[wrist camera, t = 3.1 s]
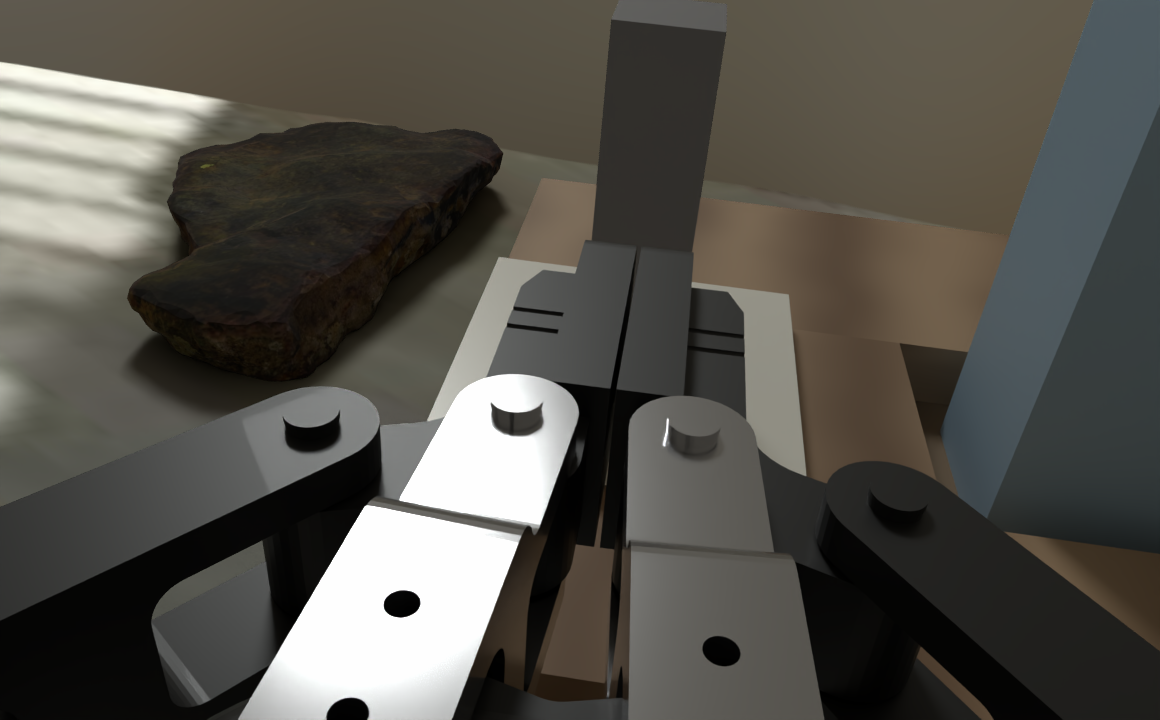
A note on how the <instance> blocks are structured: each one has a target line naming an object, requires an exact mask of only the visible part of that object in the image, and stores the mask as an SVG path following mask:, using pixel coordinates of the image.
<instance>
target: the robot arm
mask: <svg viewBox="0 0 1160 720" xmlns="http://www.w3.org/2000/svg"><path fill="white" fill-rule="evenodd" d="M636 258H637V246H635V245H626V244H618V243H609V242H601V241H592V240H585V242H584V245H583V248H582V252H581V255H580V259H579V262H578V265H577V269H576V272H575V274H574V273H566V272H558V271H550V270H542V271H541V272H539V273H538V274H537V275H535V276H534V277H533V278H531V279H530V280H529V281H527V282H526V283H524V284H523V285H522V286H521V288H520V290H519V293H518V296H517V298H516V301H515V303H514V306H513V310H512V311H511V314H510V316H509V319H508V322H507V327H505V329H504V332H503V335H502V337H501V340H500V342H499V345H498V348H497V350H496V353H495V355H494V358H493V361H492V363H491V366H490V368H489V371H488V374H487V376H486V378H485V379H481V380H479V381H477V382H475V383H473V384H471V385H469V386H468V387H466V388H465V389H464V390H463V391H462V392H460V394H459V395H458V396H457V398H456V399H455V401H454V403H453V405H452V406H451V408H450V410H449V412H448V414H447V415H446V417H443V418H440V419H436V420H431V421H427V422H419V423H408V424H395V425H382V426H380V419H379V414H378V411H377V409H376V408H375V406H374V405H373V404H372V403H371V402H370V401H369V400H368V399H366V398H365V397H363V396H362V395H360V394H358V393H355V392H353V391H350V390H346V389H342V388H336V387H325V386H318V387H306V388H299V389H295V390H290V391H287V392H284V393H281V394H278V395H276V396H273V397H271V398H268V399H266V400H263V401H261V402H258V403H256V404H253V405H251V406H249V407H246V408H244V409H241V410H239V411H236V412H234V413H231V414H229V415H226V416H224V417H221V418H219V419H216V420H214V421H211V422H209V423H207V424H204V425H202V426H199V427H197V428H194V429H192V430H189V431H187V432H184V433H182V434H179V435H177V436H174V437H172V438H169V439H167V440H165V441H162V442H160V443H157V444H155V445H152V446H150V447H147V448H145V449H142V450H140V451H137V452H135V453H132V454H130V455H127V456H125V457H123V458H120V459H118V460H115V461H113V462H110V463H108V464H105V465H103V466H100V467H98V468H95V469H93V470H90V471H88V472H85V473H83V474H81V475H78V476H76V477H73V478H71V479H68V480H66V481H63V482H61V483H58V484H56V485H53V486H51V487H48V488H46V489H43V490H41V491H38V492H36V493H34V494H31V495H29V496H26V497H24V498H21V499H19V500H16V501H14V502H11V503H9V504H6V505H4V506H1V507H0V720H982V719H981V718H980V717H978V716H977V715H976V714H975V713H974V712H973V711H972V710H971V709H970V708H969V707H968V706H967V705H966V704H965V703H964V702H963V701H962V700H961V699H960V698H959V697H957V696H956V695H955V694H954V693H953V692H952V691H951V690H950V689H949V688H948V687H947V686H946V685H945V684H944V683H943V682H942V681H941V680H940V679H939V678H938V677H936V676H935V675H934V674H933V673H932V672H931V671H930V670H929V669H928V668H927V667H926V666H925V665H924V664H923V663H922V662H921V661H920V660H919V659H918V658H917V656H918V653H919V651H920V648H921V647H922V648H923V649H924V650H925V651H926V652H927V653H928V654H929V655H930V656H932V657H933V658H934V659H935V660H936V661H937V662H938V663H939V664H940V665H941V666H942V667H943V668H944V669H945V670H946V671H948V672H949V673H950V674H951V675H952V676H953V677H954V678H955V679H956V680H957V681H958V682H959V683H960V684H961V685H962V686H964V687H965V688H966V689H967V690H968V691H969V692H970V693H971V694H972V695H973V696H974V697H975V698H976V699H977V700H979V702H980V703H981V704H982V705H983V706H984V707H985V708H986V709H987V711H988V712H989V713H990V715H991V716H992V718H993V719H994V720H1160V651H1159V650H1158V649H1157V648H1155V647H1154V646H1153V645H1151V644H1150V643H1149V642H1147V641H1146V640H1145V639H1144V638H1142V637H1141V636H1140V635H1138V634H1137V633H1136V632H1134V631H1133V630H1132V629H1130V628H1129V627H1128V626H1127V625H1125V624H1124V623H1123V622H1121V621H1120V620H1119V619H1117V618H1116V617H1115V616H1113V615H1112V614H1111V613H1110V612H1108V611H1107V610H1106V609H1104V608H1103V607H1102V606H1100V605H1099V604H1098V603H1096V602H1095V601H1094V600H1093V599H1091V598H1090V597H1089V596H1087V595H1086V594H1085V593H1083V592H1082V591H1081V590H1079V589H1078V588H1077V587H1076V586H1074V585H1073V584H1072V583H1070V582H1069V581H1068V580H1066V579H1065V578H1064V577H1063V576H1061V575H1060V574H1059V573H1057V572H1056V571H1055V570H1053V569H1052V568H1051V567H1049V566H1048V565H1047V564H1046V563H1044V562H1043V561H1042V560H1040V559H1039V558H1038V557H1036V556H1035V555H1034V554H1032V553H1031V552H1030V551H1029V550H1027V549H1026V548H1025V547H1023V546H1022V545H1021V544H1019V543H1018V542H1017V541H1015V540H1014V539H1013V538H1012V537H1010V536H1009V535H1008V534H1006V533H1005V532H1004V531H1002V530H1001V529H1000V528H998V527H997V526H996V525H995V524H993V523H992V522H991V521H989V520H988V519H987V518H985V517H984V516H983V515H982V514H980V513H979V512H978V511H976V510H975V509H974V508H972V507H971V506H970V505H968V504H967V503H966V502H965V501H963V500H962V499H961V498H959V497H958V496H957V495H955V494H954V493H953V492H951V491H950V490H949V489H948V488H946V487H945V486H944V485H942V484H941V483H939V482H938V481H936V480H935V479H933V478H932V477H930V476H928V475H926V474H924V473H922V472H920V471H918V470H915V469H913V468H910V467H907V466H903V465H900V464H895V463H891V462H883V461H862V462H855V463H852V464H848V465H846V466H844V467H842V468H840V469H838V470H837V471H836V472H834V473H833V474H832V475H831V477H830V478H829V479H828V482H827V483H824V482H821V481H818V480H815V479H813V478H810V477H807V476H804V475H801V474H799V473H796V472H794V471H792V470H789V469H787V468H785V467H783V466H782V465H780V464H778V463H776V462H775V461H773V460H772V459H770V458H769V457H768V456H767V455H766V454H764V453H763V452H762V451H761V450H760V449H759V448H758V447H757V441H756V436H755V433H754V431H753V429H752V427H751V425H750V424H749V423H748V422H747V421H746V382H745V357H744V355H745V339H744V312H743V311H742V310H741V308H740V307H739V306H738V304H737V303H736V302H735V300H734V299H733V298H732V296H731V295H730V294H729V293H728V292H725V291H717V290H708V289H700V288H692V273H693V259H694V252H687V251H678V250H670V249H662V248H653V247H645V246H642V248H641V253H640V259H639V265H638V270H637V276H636V282H635V287H634V293H633V286H634V276H635V267H636ZM632 295H633V299H632ZM608 463H609V465H608ZM607 469H608V475H607ZM606 475H607V484H606V494H605V503H604V513H603V522H602V531H601V541H600V548H606V549H613V550H614V557H613V566H612V575H611V583H610V592H609V600H608V616H607V640H606V664H605V688H604V699H599V700H585V701H570V702H555V701H549V700H546V699H543V698H540V697H537V696H535V695H534V694H535V691H536V688H537V684H538V681H539V678H540V674H541V671H542V668H543V664H544V661H545V658H546V654H547V651H548V648H549V644H550V641H551V638H552V634H553V631H554V628H555V624H556V621H557V618H558V614H559V611H560V608H561V604H562V601H563V597H564V592H565V580H566V576H567V575H568V573H569V571H570V569H571V566H572V562H573V557H574V552H575V547H576V545H583V546H590V547H594V545H595V540H596V534H597V528H598V522H599V516H600V510H601V504H602V498H603V492H604V487H605V481H606ZM260 541H263V547H264V554H265V560H266V561H265V562H263V563H261V564H259V565H257V566H256V567H254V568H252V569H250V570H248V571H246V572H244V573H242V574H240V575H238V576H236V577H234V578H232V579H230V580H228V581H227V582H225V583H223V584H221V585H219V586H217V587H215V588H213V589H211V590H209V591H207V592H205V593H203V594H201V595H199V596H198V597H196V598H194V599H192V600H190V601H188V602H186V603H184V604H182V605H180V606H178V607H176V608H174V609H172V610H170V611H169V612H167V613H165V614H163V615H161V616H159V617H157V618H155V619H153V620H152V614H153V611H154V609H155V607H156V605H157V603H158V602H159V600H160V599H161V598H162V596H163V595H164V594H165V593H166V592H167V591H168V590H169V589H170V588H172V587H173V586H174V585H176V584H177V583H179V582H180V581H182V580H184V579H186V578H188V577H190V576H192V575H194V574H196V573H198V572H200V571H202V570H204V569H206V568H208V567H210V566H212V565H214V564H216V563H218V562H220V561H222V560H224V559H226V558H228V557H230V556H232V555H234V554H236V553H238V552H240V551H242V550H244V549H246V548H248V547H250V546H252V545H254V544H256V543H258V542H260Z"/></svg>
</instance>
